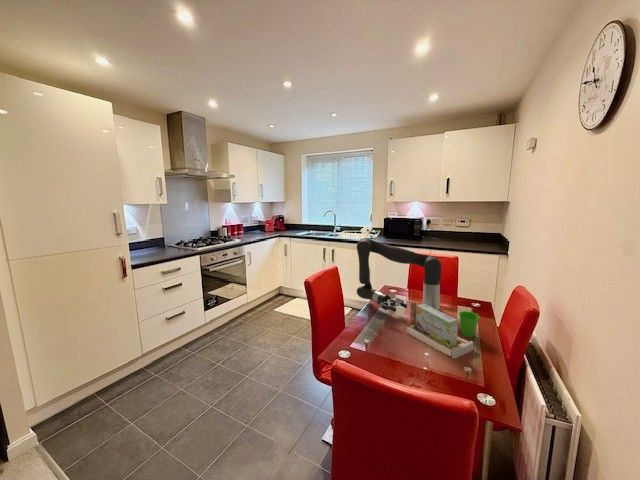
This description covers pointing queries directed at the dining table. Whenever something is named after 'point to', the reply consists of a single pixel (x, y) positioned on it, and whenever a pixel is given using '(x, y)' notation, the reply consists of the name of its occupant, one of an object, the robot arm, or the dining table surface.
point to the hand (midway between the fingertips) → (401, 308)
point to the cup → (468, 323)
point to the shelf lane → (454, 353)
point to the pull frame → (413, 326)
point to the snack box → (436, 325)
